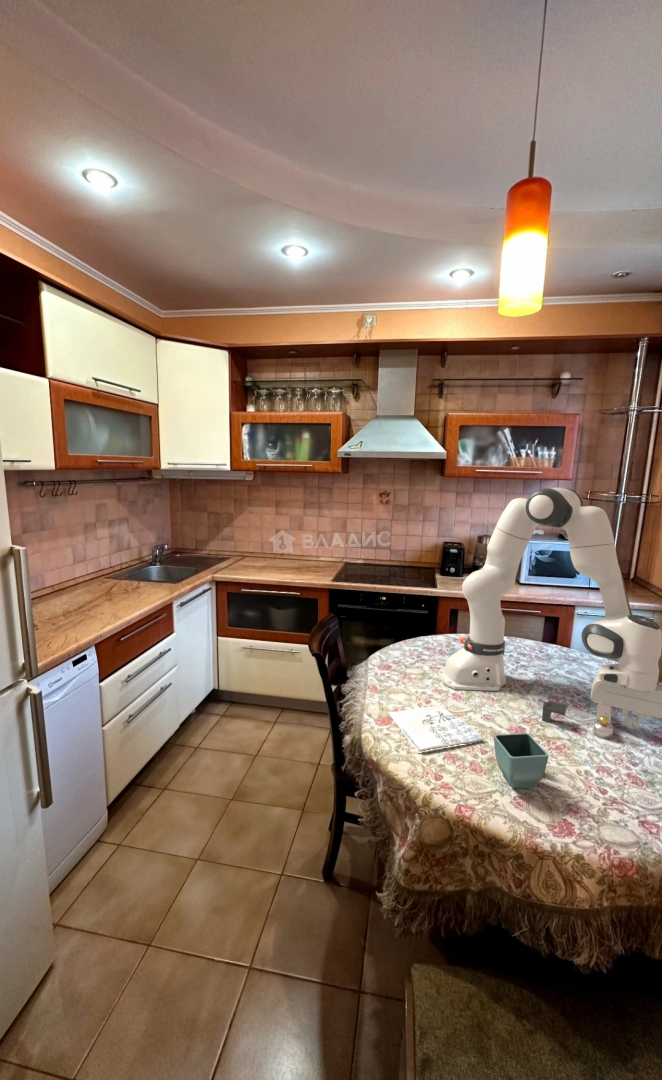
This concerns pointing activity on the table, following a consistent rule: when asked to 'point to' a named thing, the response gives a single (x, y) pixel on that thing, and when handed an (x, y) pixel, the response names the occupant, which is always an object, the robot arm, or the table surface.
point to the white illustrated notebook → (434, 728)
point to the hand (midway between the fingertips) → (631, 725)
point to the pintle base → (562, 712)
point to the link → (603, 730)
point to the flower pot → (520, 759)
